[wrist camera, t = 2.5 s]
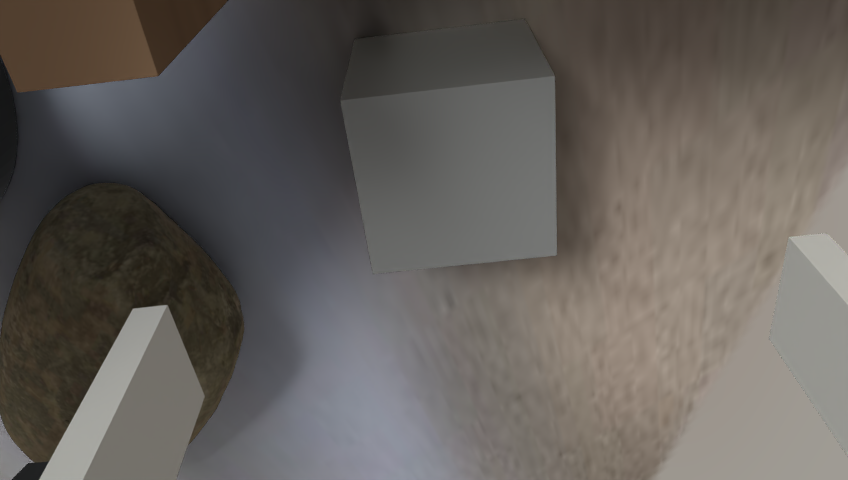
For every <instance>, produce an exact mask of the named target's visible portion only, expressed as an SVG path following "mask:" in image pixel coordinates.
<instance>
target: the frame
mask: <svg viewBox="0 0 848 480" xmlns="http://www.w3.org/2000/svg"><path fill="white" fill-rule="evenodd" d="M227 1H228V0H0V55H1V57H2V59H3V62H4V64H5V66H6V68H7V71H8V73H9V75H10V77H11V79H12V82H13V84H14V86H15V88H16V91H17V93H19V92H27V91H36V90H45V89H53V88H62V87H70V86H79V85H87V84H96V83H104V82H113V81H121V80H130V79H138V78H147V77H155V76H159V75H160V74H161V73H162V72H163V70H164V69H165V68H166V67H167V66H168V65H169V64H170V63H171V62H172V61H173V60H174V59H175V57H176V56H177V55H178V54H179V53H180V52H181V51H182V50H183V49H184V48H185V47H186V46H187V44H188V43H189V42H190V41H191V40H192V39H193V38H194V37H195V36H196V35H197V34H198V33H199V32H200V30H201V29H202V28H203V27H204V26H205V25H206V24H207V23H208V22H209V21H210V20H211V19H212V17H213V16H214V15H215V14H216V13H217V12H218V11H219V10H220V9H221V8H222V7H223V6H224V4H225V3H226V2H227Z"/></svg>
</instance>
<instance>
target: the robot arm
mask: <svg viewBox="0 0 848 480" xmlns="http://www.w3.org/2000/svg"><path fill="white" fill-rule="evenodd" d="M16 153H17V120H16V112H15V107H14V101H13V97H12V93H11V89H10V85H9V82H8V79H7V76H6V73H5V70H4V68H3V66H2V63H1V61H0V200H1V198H2V197H3V195H4V193H5V191H6V189H7V187H8V184H9V182H10V179H11V176H12V173H13V169H14V165H15V159H16ZM769 340H770V341H771V343H772V344H773V346H774V347H775V349H776V350H777V351H778V353H779V355H780V356H781V358H782V359H783V361H784V362H785V364H786V365H787V366H788V368H789V369H790V371H791V373H792V374H793V376H794V377H795V379H796V380H797V382H798V383H799V384H800V386H801V388H802V389H803V391H804V392H805V394H806V395H807V397H808V398H809V399H810V401H811V402H812V404H813V405H814V407H815V408H816V410H817V411H818V413H819V414H820V416H821V417H822V419H823V420H824V422H825V423H826V425H827V426H828V428H829V429H830V431H831V432H832V434H833V435H834V437H835V438H836V440H837V441H838V443H839V444H840V446H841V447H842V449H843V450H844V452H845V453H846V455H847V456H848V254H847V253H846V252H845V251H844V250H843V249H842V248H841V247H840V246H839V245H838V244H837V243H836V242H835V241H834V240H833V239H832V238H831V237H830V236H829V235H828V234H827V233H822V234H813V235H804V236H794V237H789V239H788V244H787V249H786V254H785V259H784V264H783V270H782V275H781V280H780V285H779V290H778V296H777V300H776V306H775V311H774V316H773V321H772V326H771V332H770V336H769ZM204 397H205V395H204V393H203V391H202V388H201V386H200V383H199V381H198V378H197V376H196V373H195V371H194V369H193V366H192V364H191V361H190V359H189V356H188V354H187V351H186V349H185V347H184V344H183V342H182V339H181V337H180V334H179V332H178V329H177V327H176V325H175V322H174V320H173V317H172V315H171V312H170V310H169V307H168V305H162V306H153V307H144V308H135V309H132V311H131V313H130V315H129V317H128V319H127V320H126V322H125V324H124V326H123V328H122V330H121V331H120V333H119V335H118V337H117V339H116V340H115V342H114V344H113V346H112V348H111V350H110V351H109V353H108V355H107V357H106V359H105V361H104V362H103V364H102V366H101V368H100V370H99V371H98V373H97V375H96V377H95V379H94V381H93V382H92V384H91V386H90V388H89V390H88V392H87V393H86V395H85V397H84V399H83V401H82V402H81V404H80V406H79V408H78V410H77V412H76V413H75V415H74V417H73V419H72V421H71V423H70V424H69V426H68V428H67V430H66V432H65V433H64V435H63V437H62V439H61V441H60V443H59V444H58V446H57V448H56V450H55V452H54V454H53V455H52V457H51V459H50V461H47V462H37V463H28V464H27V465H26V466H25V467H24V468H23V469H22V470H21V471H20V472H19V473H18V474H17V475H16V476H15V477H14V478H13V479H12V480H176V478H177V475H178V472H179V469H180V467H181V464H182V461H183V458H184V455H185V452H186V449H187V446H188V443H189V441H190V438H191V435H192V432H193V429H194V426H195V423H196V420H197V418H198V415H199V412H200V409H201V406H202V403H203V400H204Z"/></svg>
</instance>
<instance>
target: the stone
mask: <svg viewBox="0 0 848 480" xmlns="http://www.w3.org/2000/svg"><path fill="white" fill-rule="evenodd" d="M162 305H168V307H169V310H170V312H171V315H172V317H173V320H174V322H175V325H176V327H177V329H178V332H179V334H180V337H181V339H182V342H183V344H184V347H185V349H186V351H187V354H188V356H189V359H190V361H191V364H192V366H193V369H194V371H195V373H196V376H197V378H198V381H199V383H200V386H201V388H202V391H203V393H204V395H205V397H204V400H203V403H202V406H201V409H200V412H199V415H198V418H197V420H196V423H195V426H194V429H193V432H192V435H191V438H190V441H189V443H188V445H189V444H190V443H191V442H192V440H193V439H194V438H195V437H196V436H197V434H198V433H199V432H200V430H201V429H202V428H203V427H204V425H205V424H206V422H207V421H208V420H209V419H210V417H211V416H212V414H213V413H214V411H215V410H216V408H217V407H218V404H219V402H220V400H221V397H222V395H223V393H224V391H225V389H226V387H227V385H228V383H229V381H230V379H231V376H232V373H233V371H234V368H235V364H236V361H237V358H238V354H239V351H240V347H241V343H242V339H243V333H244V320H243V315H242V311H241V305H240V301H239V299H238V296H237V294H236V292H235V290H234V288H233V287H232V285H231V284H230V282H229V281H228V280H227V279H226V277H225V276H224V275H223V274H222V272H221V271H220V270H219V268H218V267H217V266H216V264H215V263H214V262H213V261H212V260H211V258H210V257H209V256H208V255H207V254H206V253H205V252H204V250H203V249H202V248H201V247H200V246H199V245H198V244H197V243H196V242H195V241H194V240H193V239H192V238H191V237H190V236H189V235H188V234H187V233H186V232H184V231H183V230H182V229H181V228H180V227H179V226H178V225H177V224H176V223H175V222H174V221H173V220H171V219H170V218H169V217H168V216H167V215H166V214H165V213H164V212H163V211H162V210H161V209H160V208H159V207H158V206H157V205H156V204H154V203H153V202H152V201H151V200H149V199H147V198H146V197H145V196H144V195H143V194H142V193H140V192H139V191H137V190H136V189H134V188H132V187H129V186H126V185H123V184H118V183H96V184H91V185H87V186H85V187H83V188H80V189H78V190H77V191H75V192H73V193H71V194H69V195H67V196H66V197H65V198H64V199H62V200H61V201H60V202H59V203H58V204H57V205H56V206H55V207H54V208H53V209H52V210H51V211H50V212H49V213H48V214H47V215H46V216H45V217H44V219H43V220H42V222H41V223H40V225H39V226H38V228H37V230H36V231H35V233H34V235H33V237H32V239H31V241H30V243H29V245H28V247H27V249H26V251H25V254H24V256H23V258H22V261H21V263H20V266H19V268H18V271H17V273H16V275H15V278H14V282H13V285H12V288H11V291H10V294H9V298H8V301H7V305H6V308H5V312H4V318H3V322H2V328H1V335H0V415H1V418H2V421H3V423H4V426H5V428H6V430H7V432H8V434H9V435H10V437H11V438H12V440H13V441H14V442H15V444H16V445H17V446H18V447H19V448H20V449H21V450H22V451H23V452H24V453H25V454H26V455H27V456H28V457H29V458H30V459H31V460H32V461H33V462H35V463H37V462H47V461H50V459H51V457H52V455H53V454H54V452H55V450H56V448H57V446H58V444H59V443H60V441H61V439H62V437H63V435H64V433H65V432H66V430H67V428H68V426H69V424H70V423H71V421H72V419H73V417H74V415H75V413H76V412H77V410H78V408H79V406H80V404H81V402H82V401H83V399H84V397H85V395H86V393H87V392H88V390H89V388H90V386H91V384H92V382H93V381H94V379H95V377H96V375H97V373H98V371H99V370H100V368H101V366H102V364H103V362H104V361H105V359H106V357H107V355H108V353H109V351H110V350H111V348H112V346H113V344H114V342H115V340H116V339H117V337H118V335H119V333H120V331H121V330H122V328H123V326H124V324H125V322H126V320H127V319H128V317H129V315H130V313H131V311H132V309H135V308H144V307H153V306H162Z"/></svg>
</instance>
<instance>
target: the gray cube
mask: <svg viewBox="0 0 848 480" xmlns="http://www.w3.org/2000/svg"><path fill="white" fill-rule="evenodd" d="M340 103H341V108H342V113H343V119H344V124H345V129H346V135H347V140H348V145H349V151H350V156H351V161H352V167H353V172H354V177H355V183H356V188H357V193H358V198H359V204H360V209H361V214H362V220H363V225H364V230H365V236H366V241H367V246H368V252H369V257H370V262H371V268H372V273H373V274H380V273H390V272H400V271H410V270H420V269H429V268H439V267H449V266H459V265H468V264H478V263H488V262H498V261H507V260H517V259H527V258H537V257H547V256H556V255H557V215H556V122H555V75H554V73H553V71H552V69H551V67H550V66H549V64H548V62H547V60H546V58H545V56H544V54H543V52H542V50H541V48H540V47H539V45H538V43H537V41H536V39H535V37H534V35H533V33H532V31H531V30H530V28H529V26H528V24H527V22H526V20H525V19H520V20H511V21H503V22H494V23H486V24H477V25H469V26H461V27H452V28H444V29H435V30H427V31H418V32H410V33H401V34H393V35H385V36H376V37H368V38H359V39H355V40H354V44H353V48H352V52H351V56H350V61H349V65H348V69H347V73H346V78H345V82H344V86H343V90H342V95H341V99H340Z"/></svg>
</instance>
